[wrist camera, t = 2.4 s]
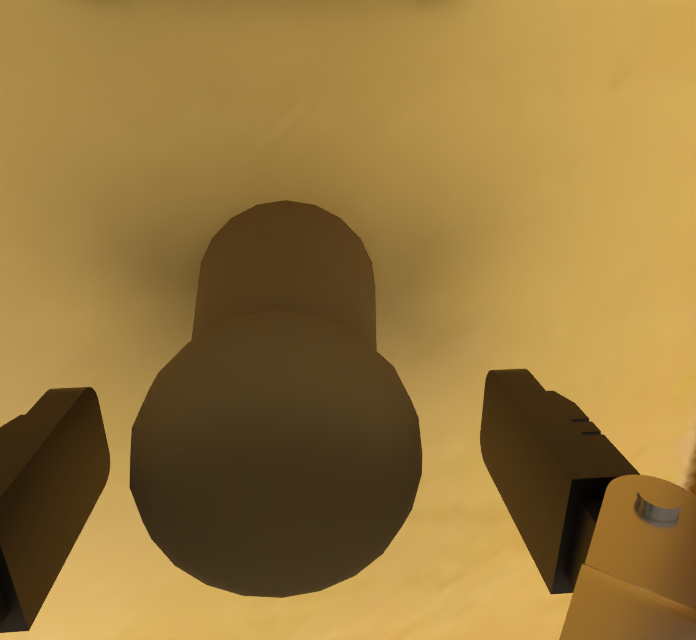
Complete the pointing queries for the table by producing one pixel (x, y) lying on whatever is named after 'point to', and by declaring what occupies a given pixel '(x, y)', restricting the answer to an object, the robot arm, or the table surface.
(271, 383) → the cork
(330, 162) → the table surface
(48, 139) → the table surface
